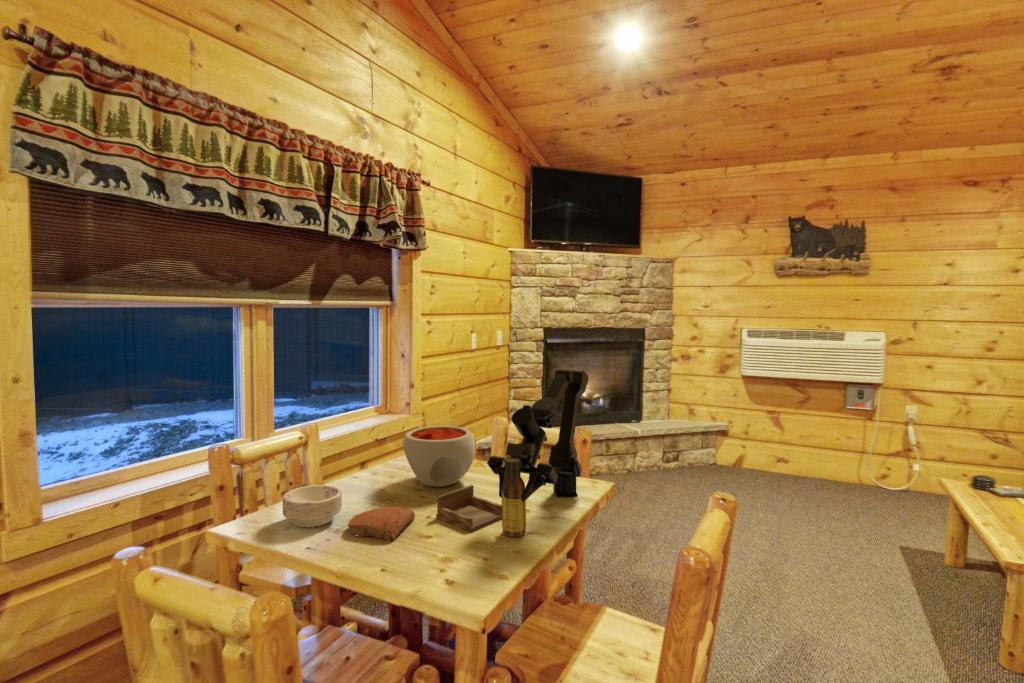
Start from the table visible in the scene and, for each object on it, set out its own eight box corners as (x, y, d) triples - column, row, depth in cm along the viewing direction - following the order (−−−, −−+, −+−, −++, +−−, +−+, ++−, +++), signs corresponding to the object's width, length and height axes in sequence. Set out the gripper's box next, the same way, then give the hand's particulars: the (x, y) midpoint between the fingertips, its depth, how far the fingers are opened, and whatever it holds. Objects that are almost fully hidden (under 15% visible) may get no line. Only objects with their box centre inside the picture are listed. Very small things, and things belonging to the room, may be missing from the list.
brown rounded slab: (368, 497, 152) (417, 509, 149) (364, 520, 152) (413, 532, 149) (342, 509, 137) (396, 523, 134) (337, 535, 137) (392, 548, 134)
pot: (488, 477, 185) (488, 426, 183) (449, 500, 163) (448, 442, 162) (430, 468, 195) (430, 419, 194) (386, 488, 174) (386, 433, 173)
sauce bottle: (511, 526, 144) (511, 453, 143) (530, 532, 140) (530, 457, 139) (496, 534, 139) (496, 459, 137) (516, 541, 135) (516, 463, 134)
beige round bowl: (353, 514, 152) (352, 486, 152) (318, 536, 138) (318, 506, 137) (308, 508, 157) (307, 481, 157) (270, 528, 143) (269, 499, 142)
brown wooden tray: (507, 516, 151) (507, 495, 150) (471, 532, 140) (471, 509, 140) (472, 504, 160) (472, 484, 160) (436, 518, 150) (435, 496, 149)
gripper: (490, 426, 146) (468, 477, 137) (553, 434, 137) (534, 489, 128) (504, 448, 153) (484, 498, 144) (565, 457, 144) (547, 511, 135)
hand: (511, 498), depth 138 cm, fingers closed on sauce bottle, 6 cm apart
